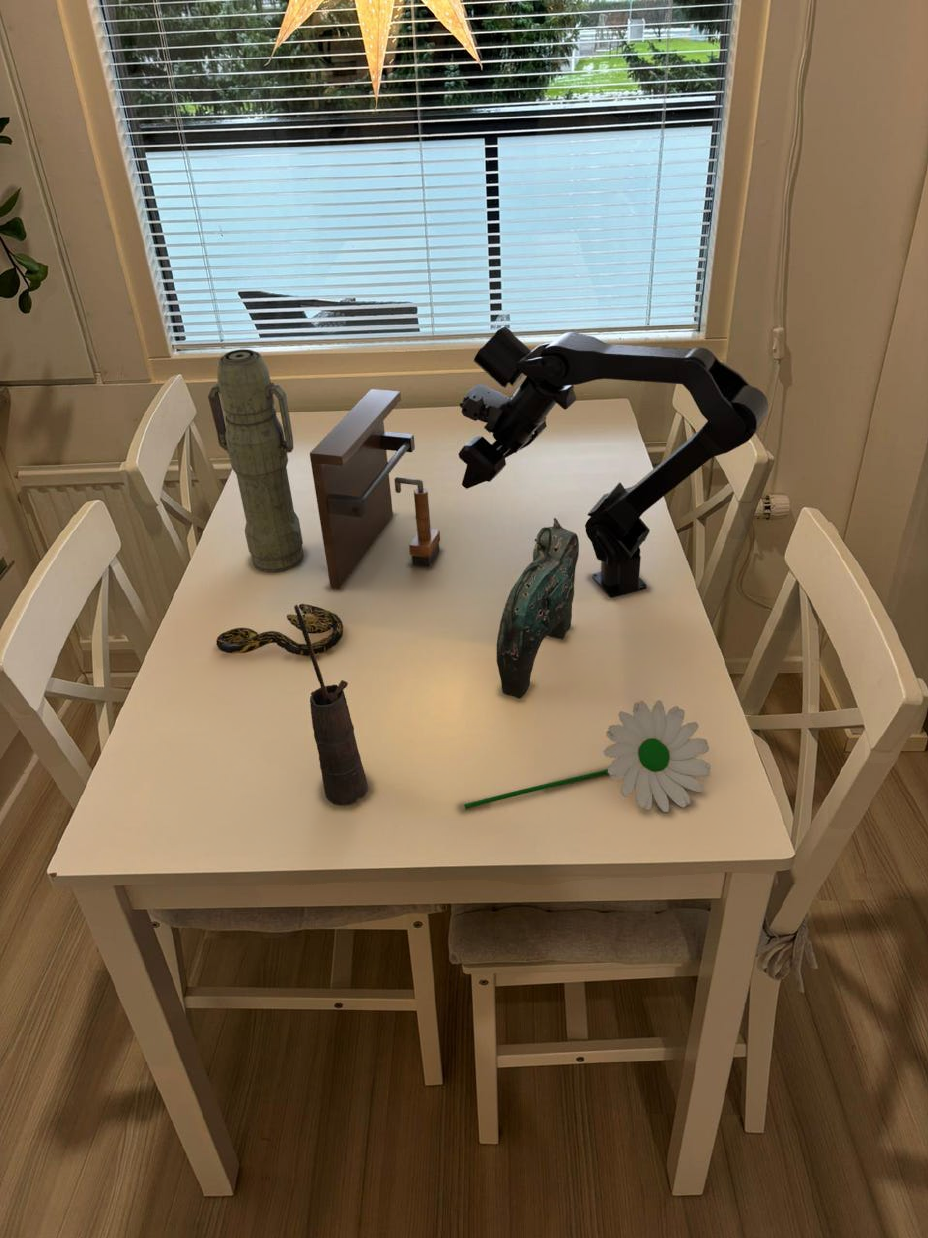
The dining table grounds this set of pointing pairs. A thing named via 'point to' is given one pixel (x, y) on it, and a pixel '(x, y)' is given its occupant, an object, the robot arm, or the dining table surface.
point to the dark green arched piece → (537, 607)
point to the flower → (646, 758)
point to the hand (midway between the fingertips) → (478, 473)
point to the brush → (421, 526)
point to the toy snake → (314, 621)
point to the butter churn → (335, 737)
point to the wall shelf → (356, 481)
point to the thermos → (258, 457)
